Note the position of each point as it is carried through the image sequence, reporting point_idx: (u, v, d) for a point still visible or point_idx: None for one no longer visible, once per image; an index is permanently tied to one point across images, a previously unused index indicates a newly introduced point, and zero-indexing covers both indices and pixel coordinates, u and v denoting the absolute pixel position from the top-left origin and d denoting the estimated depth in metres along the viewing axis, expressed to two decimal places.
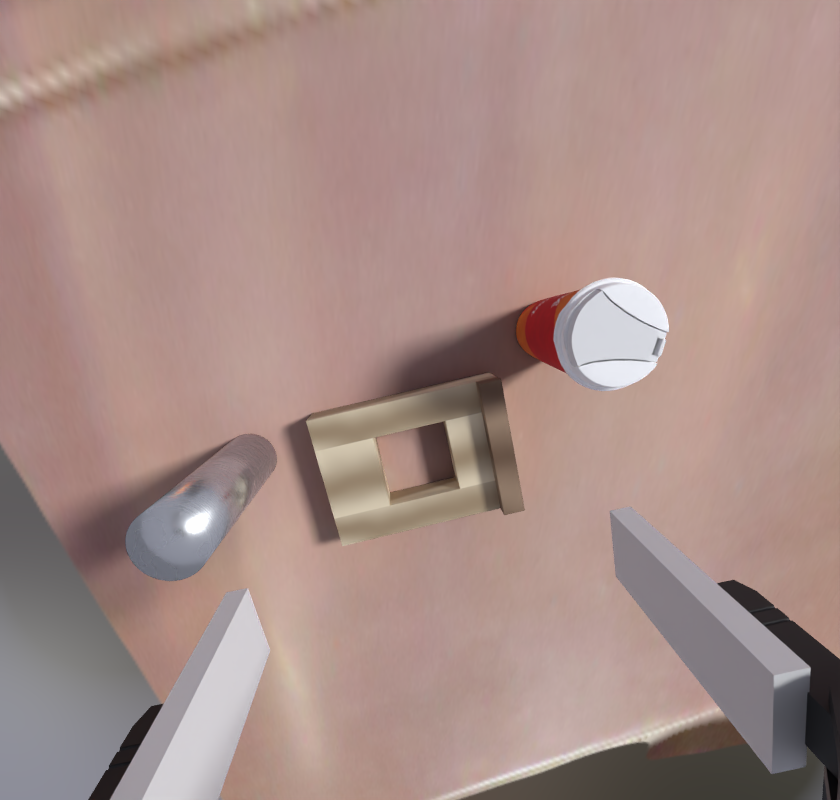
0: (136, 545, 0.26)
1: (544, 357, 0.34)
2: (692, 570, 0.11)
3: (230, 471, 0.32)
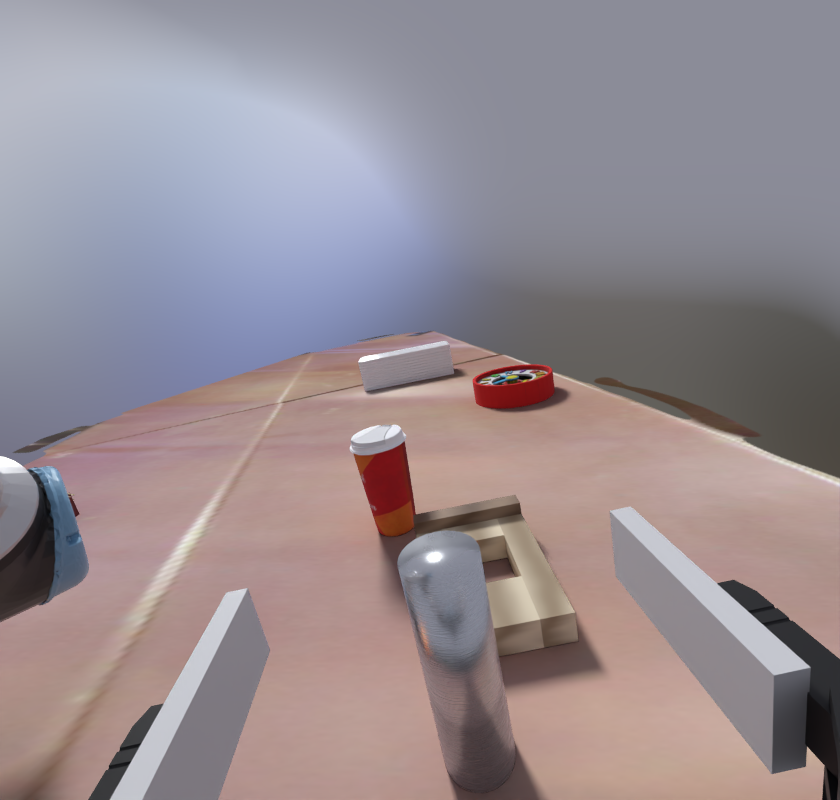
0: (432, 577, 0.23)
1: (395, 484, 0.54)
2: (692, 570, 0.11)
3: None
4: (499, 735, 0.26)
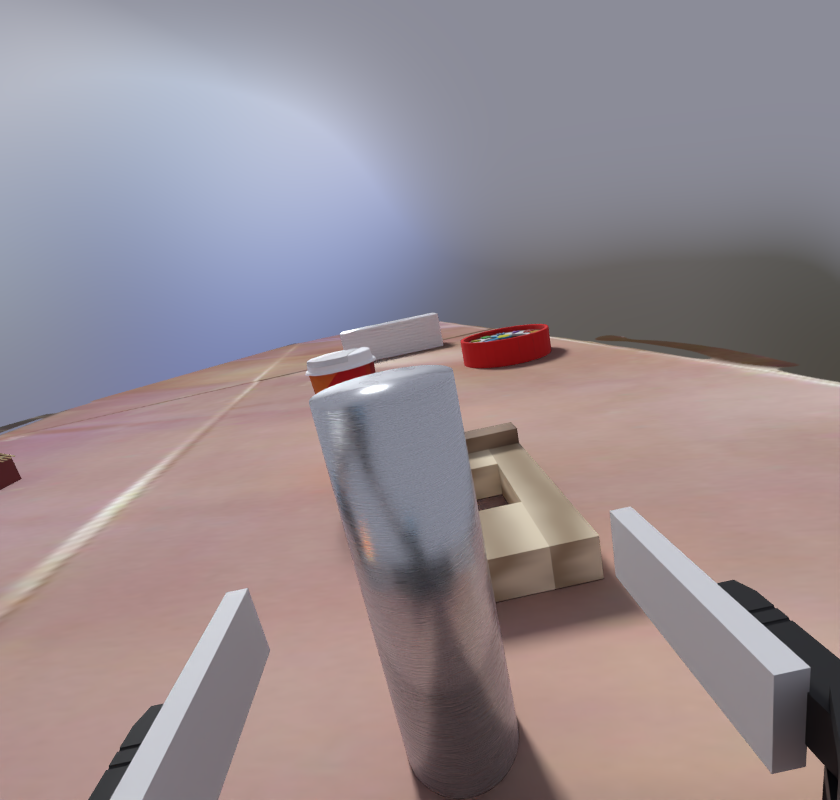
0: (364, 399, 0.13)
1: None
2: (691, 570, 0.11)
3: None
4: (492, 700, 0.16)
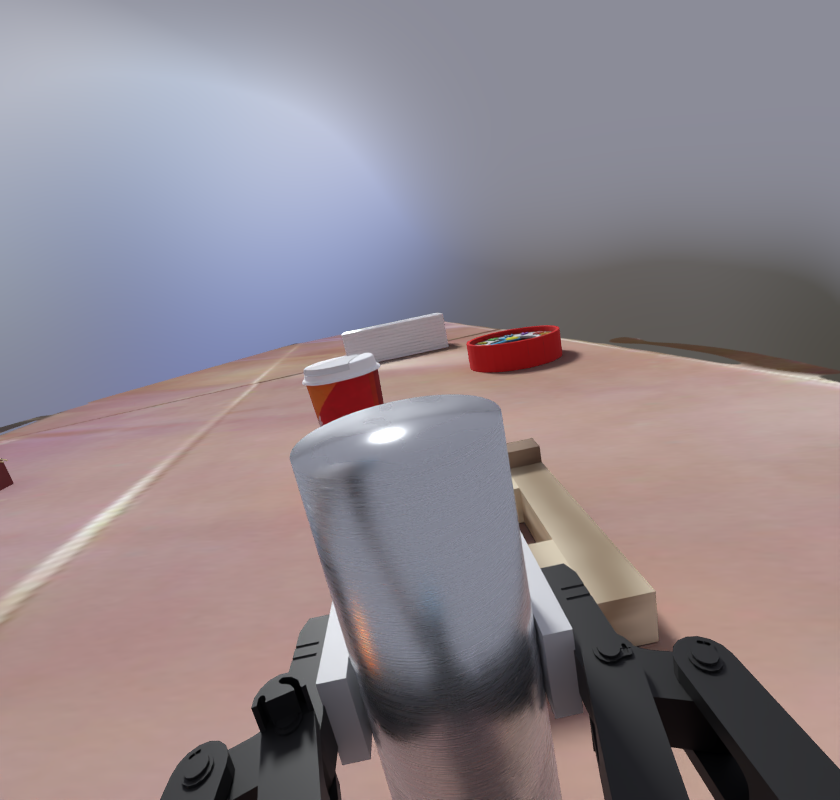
0: (372, 460, 0.08)
1: None
2: (525, 554, 0.13)
3: None
4: None
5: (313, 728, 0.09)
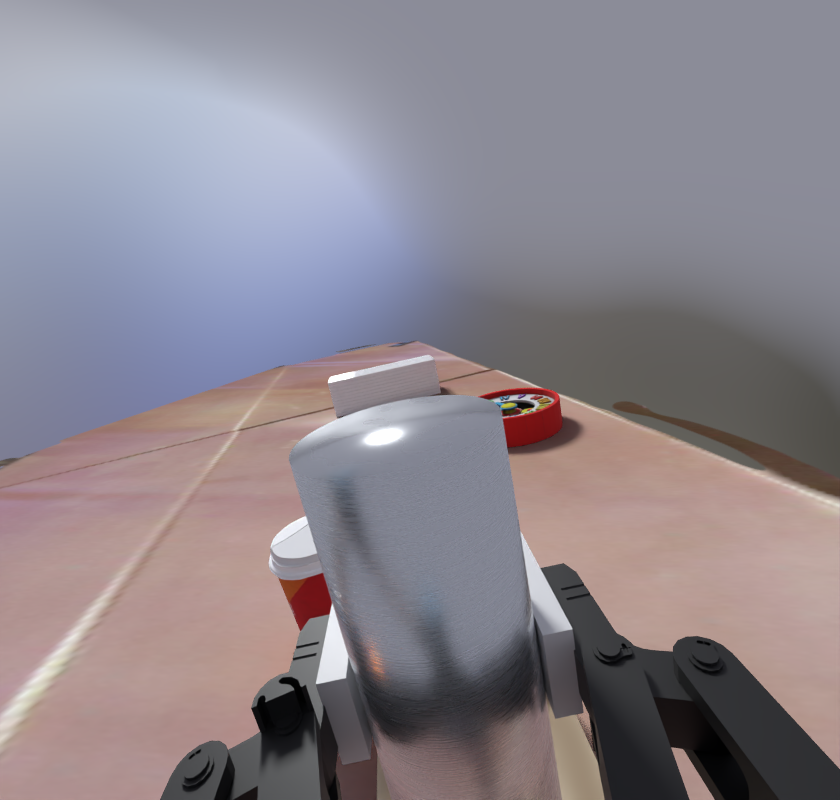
0: (372, 461, 0.08)
1: None
2: (525, 554, 0.13)
3: None
4: None
5: (313, 728, 0.09)
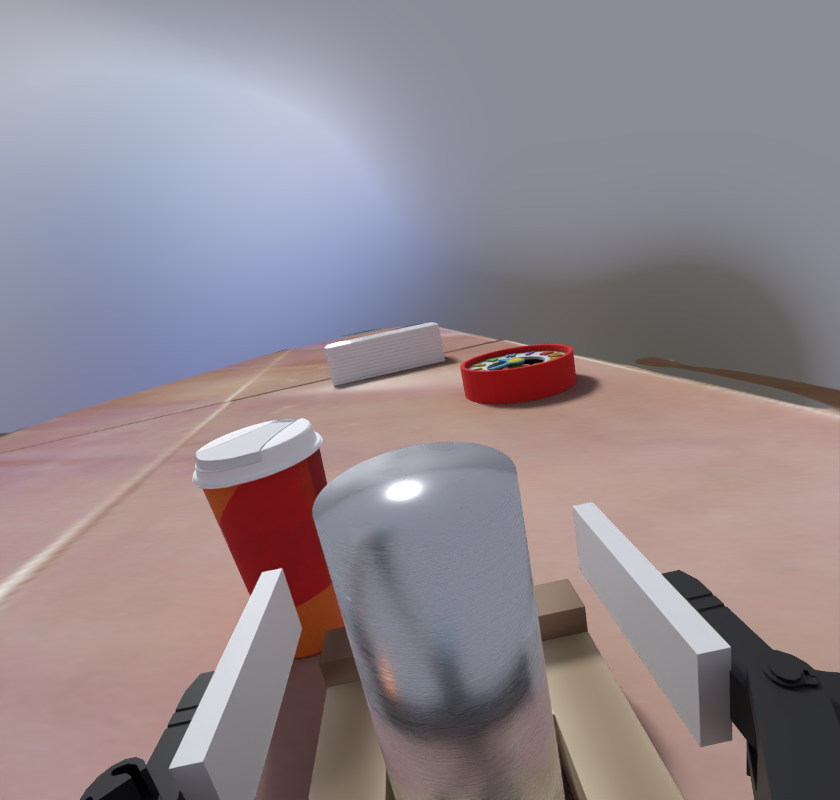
0: (394, 525, 0.09)
1: (294, 552, 0.24)
2: (639, 560, 0.12)
3: None
4: None
5: None
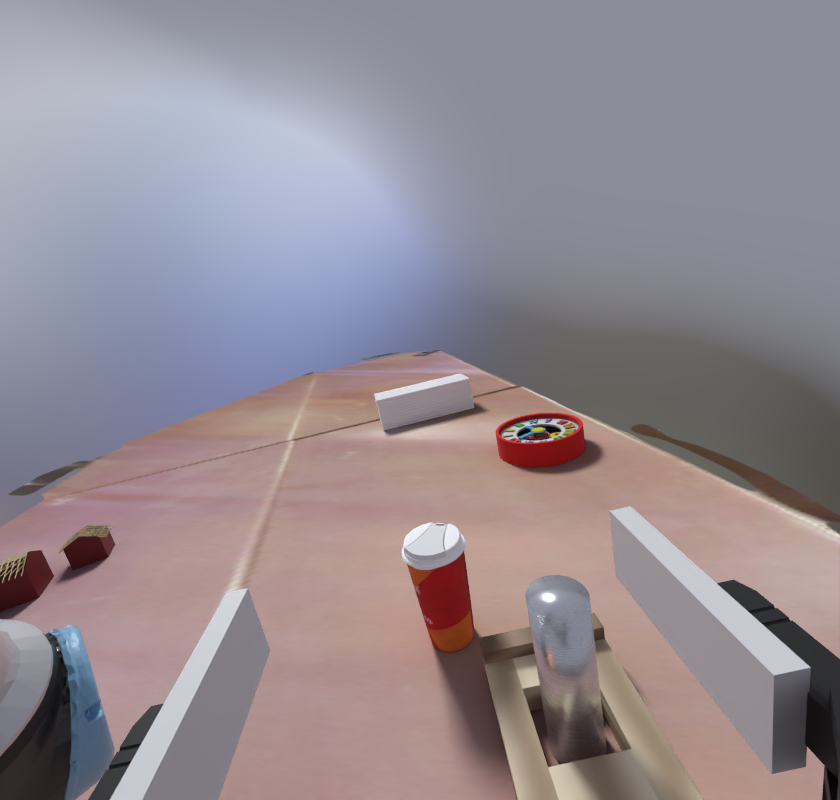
0: (559, 613, 0.32)
1: (455, 598, 0.48)
2: (691, 570, 0.11)
3: None
4: (599, 728, 0.35)
5: None
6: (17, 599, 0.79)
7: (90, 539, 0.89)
